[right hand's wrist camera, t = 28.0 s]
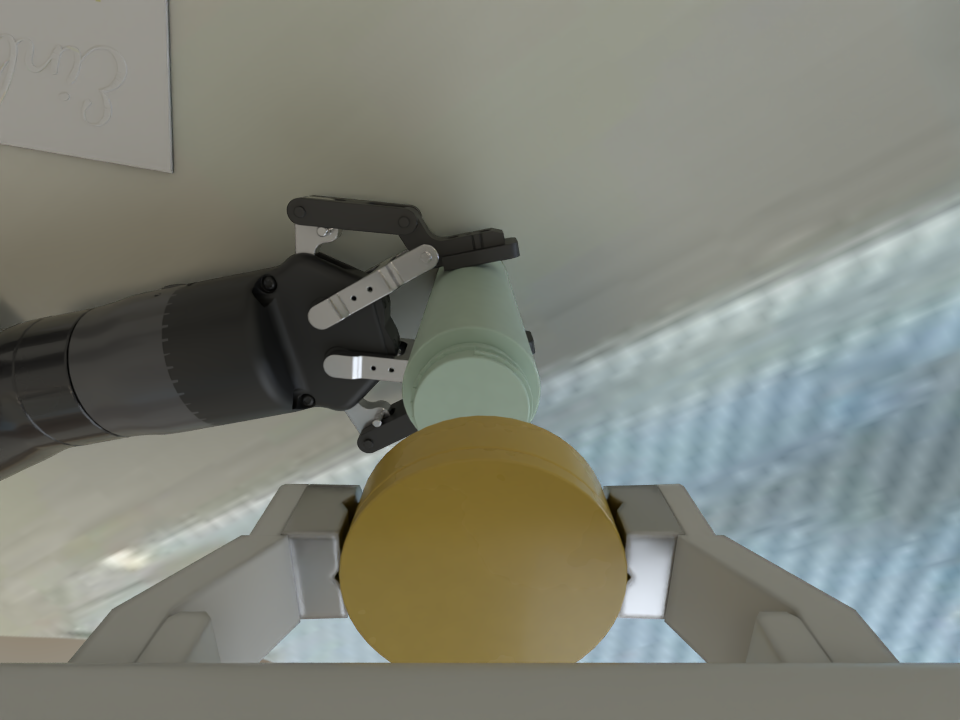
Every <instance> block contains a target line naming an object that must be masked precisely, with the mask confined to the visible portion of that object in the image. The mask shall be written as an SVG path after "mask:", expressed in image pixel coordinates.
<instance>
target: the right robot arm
mask: <svg viewBox="0 0 960 720" xmlns="http://www.w3.org/2000/svg"><path fill="white" fill-rule="evenodd" d="M603 492H604V495H605V498H606V500H607V503H608V506H609V508H610V511H611V514H612V516H613V519H614V522H615V524H616V527H617V530H618V532H619V535H620V538H621V541H622V543H623V546H624V549H625V555H626V560H627V586H626V593H625V597H624V600H623V603H622V606H621V610H620V612H619V614H618V616H617V617H618V618H641V619H665V622H666V623H667V624H668V625H669V626H670V627H671V628H672V629H673V630H674V631H675V632H676V633H677V634H678V635H679V636H680V637H681V638H682V639H683V640H684V641H685V642H686V643H687V644H688V645H689V646H690V647H691V648H692V649H693V650H694V651H695V652H697V653H698V654H699V655H700V656H701V657H702V658H703V659H704V660H705V661H706V662H707V663H259V662H260V661H261V660H262V659H263V658H264V657H265V656H266V655H267V654H268V653H269V652H270V651H271V650H272V649H273V648H274V647H275V646H276V645H277V644H278V643H279V642H280V641H281V640H282V639H283V638H284V637H285V636H286V635H287V634H288V633H289V632H290V631H291V630H292V629H293V628H295V627H296V626H297V625H298V624H299V623H300V619H323V618H347V617H348V612H347V610H346V607H345V605H344V602H343V598H342V594H341V590H340V581H339V565H340V556H341V552H342V548H343V544H344V541H345V538H346V536H347V533H348V530H349V527H350V525H351V522H352V519H353V517H354V514H355V511H356V509H357V506H358V503H359V500H360V498H361V495H362V489H361V487H360V485H322V484H310V485H308V484H285V485H282V486H281V487H280V488H279V489H278V491H277V492H276V494H275V496H274V497H273V499H272V500H271V502H270V503H269V505H268V507H267V508H266V510H265V511H264V513H263V515H262V516H261V518H260V519H259V521H258V522H257V524H256V526H255V527H254V529H253V530H252V532H251V533H250V535H241V536H240V537H238V538H236V539H234V540H233V541H231V542H229V543H227V544H226V545H224V546H222V547H220V548H219V549H217V550H215V551H213V552H212V553H210V554H208V555H206V556H205V557H203V558H201V559H199V560H198V561H196V562H194V563H192V564H191V565H189V566H187V567H185V568H184V569H182V570H180V571H178V572H177V573H175V574H173V575H171V576H170V577H168V578H166V579H164V580H163V581H161V582H159V583H157V584H156V585H154V586H152V587H150V588H149V589H147V590H145V591H143V592H142V593H140V594H138V595H136V596H135V597H133V598H131V599H129V600H128V601H126V602H124V603H122V604H121V605H119V606H117V607H115V608H114V609H112V610H111V611H110V613H109V614H108V615H107V616H106V617H105V619H104V620H103V621H102V622H101V623H100V625H99V626H98V627H97V628H96V629H95V630H94V632H93V633H92V634H91V635H90V636H89V638H88V639H87V640H86V641H85V642H84V644H83V645H82V646H81V647H80V648H79V650H78V651H77V652H76V653H75V654H74V656H73V657H72V658H71V659H70V660H69V661H68V663H0V720H960V663H900V662H899V661H898V660H897V659H896V658H895V656H894V655H893V654H892V653H891V652H890V651H889V649H888V648H887V647H886V646H885V645H884V643H883V642H882V641H881V640H880V639H879V638H878V636H877V635H876V634H875V633H874V632H873V630H872V629H871V628H870V627H869V626H868V625H867V623H866V622H865V621H864V620H863V619H862V617H861V616H860V615H859V614H858V613H857V612H856V610H854V609H852V608H851V607H849V606H847V605H845V604H844V603H842V602H840V601H838V600H837V599H835V598H833V597H831V596H830V595H828V594H826V593H824V592H823V591H821V590H819V589H817V588H815V587H814V586H812V585H810V584H808V583H807V582H805V581H803V580H801V579H800V578H798V577H796V576H794V575H793V574H791V573H789V572H787V571H786V570H784V569H782V568H780V567H779V566H777V565H775V564H773V563H772V562H770V561H768V560H766V559H764V558H763V557H761V556H759V555H757V554H756V553H754V552H752V551H750V550H749V549H747V548H745V547H743V546H742V545H740V544H738V543H736V542H735V541H733V540H731V539H729V538H728V537H726V536H724V535H715V533H714V532H713V530H712V529H711V527H710V526H709V524H708V522H707V521H706V519H705V518H704V516H703V515H702V513H701V512H700V510H699V509H698V507H697V506H696V504H695V503H694V501H693V500H692V498H691V497H690V495H689V494H688V492H687V490H686V489H685V487H684V486H682V485H681V484H659V485H630V486H604V487H603Z"/></svg>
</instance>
